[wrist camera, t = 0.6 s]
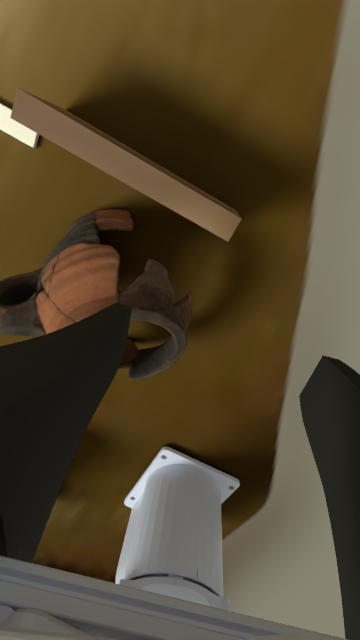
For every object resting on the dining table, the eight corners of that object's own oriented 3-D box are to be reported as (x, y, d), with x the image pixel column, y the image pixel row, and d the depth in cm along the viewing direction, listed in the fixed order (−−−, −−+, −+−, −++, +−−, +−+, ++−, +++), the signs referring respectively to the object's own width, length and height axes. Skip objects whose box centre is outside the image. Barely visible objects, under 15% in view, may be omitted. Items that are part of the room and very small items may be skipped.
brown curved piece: (174, 188, 18) (206, 283, 13) (177, 295, 26) (198, 381, 21) (-34, 210, 17) (-87, 323, 12) (32, 315, 24) (16, 412, 19)
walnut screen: (224, 227, 18) (228, 241, 14) (58, 132, 17) (10, 117, 13) (235, 209, 18) (242, 218, 14) (65, 109, 16) (16, 87, 12)
